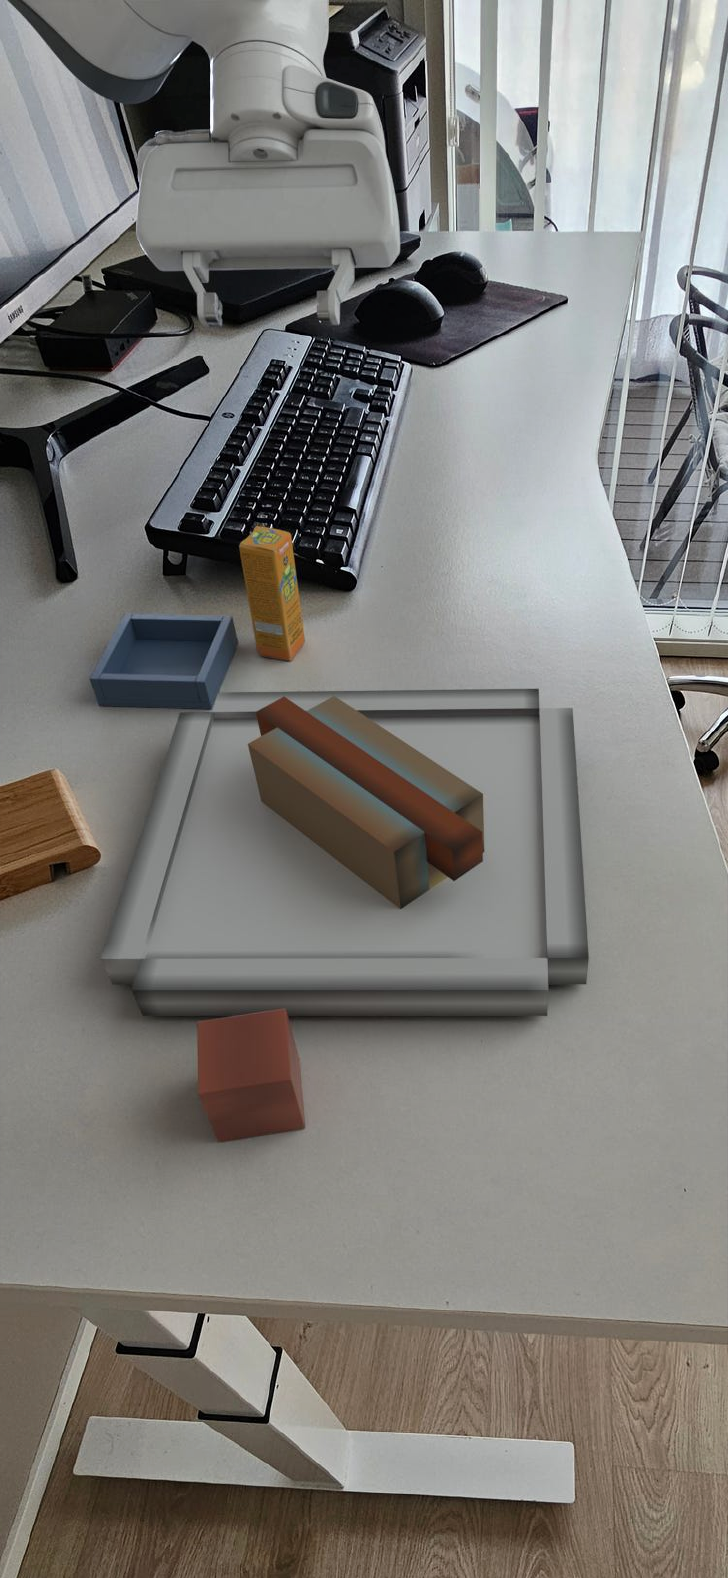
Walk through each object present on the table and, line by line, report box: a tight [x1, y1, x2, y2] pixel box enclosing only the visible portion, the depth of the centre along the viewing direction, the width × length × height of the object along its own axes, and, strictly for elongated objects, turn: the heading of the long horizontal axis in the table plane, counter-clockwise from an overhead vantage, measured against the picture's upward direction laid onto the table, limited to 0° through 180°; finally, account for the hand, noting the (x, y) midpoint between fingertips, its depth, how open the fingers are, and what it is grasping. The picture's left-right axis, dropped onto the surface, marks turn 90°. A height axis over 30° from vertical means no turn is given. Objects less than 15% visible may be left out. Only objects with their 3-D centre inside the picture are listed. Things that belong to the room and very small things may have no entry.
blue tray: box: [88, 613, 239, 710], centre depth 87 cm, size 10×10×3 cm
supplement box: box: [238, 525, 306, 662], centre depth 86 cm, size 3×3×10 cm
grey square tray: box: [100, 688, 590, 1017], centre depth 70 cm, size 30×30×8 cm
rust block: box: [196, 1009, 306, 1143], centre depth 59 cm, size 5×5×5 cm
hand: (268, 322), depth 81 cm, fingers open, 8 cm apart
